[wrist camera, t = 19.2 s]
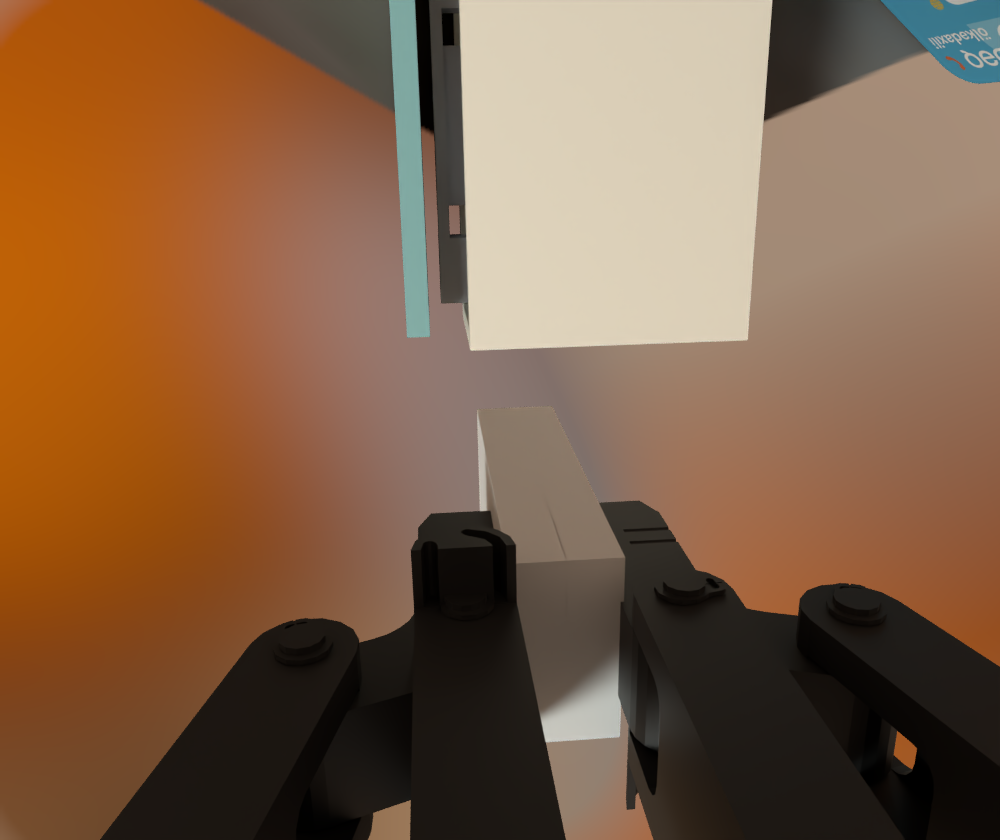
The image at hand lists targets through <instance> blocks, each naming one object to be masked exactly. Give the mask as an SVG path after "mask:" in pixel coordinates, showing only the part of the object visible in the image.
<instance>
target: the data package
mask: <svg viewBox="0 0 1000 840" xmlns="http://www.w3.org/2000/svg"><path fill="white" fill-rule="evenodd" d="M881 1H882V2H883V3H884V5H885V6H886V7H887V8H888V9H889V10H890V11H891V12H892V13H893V14H894V15H895V16H896V17H897V18H898V19H899V20H900V21H901V22H902V24H903V25H904V26H905V27H906V28H907V29H908V30H909V31H910V32H911V33H912V34H913V35H914V36H915V37H916V38H917V39H918V40H919V41H920V43H921V44H922V45H923V46H924V47H925V48H926V49H927V50H928V51H929V52H930V53H931V54H932V55H933V56H934V57H935V58H936V59H937V60H938V61H939V63H940V64H941V65H942V66H943V67H945V68H946V69H947V70H948V71H950V72H951V73H952V74H954V75H955V76H957V77H959V78H961V79H963V80H965V81H968V82H972V83H979V84H980V83H992V82H1000V0H881Z"/></svg>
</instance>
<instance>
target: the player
mask: <svg viewBox="0 0 1000 840" xmlns="http://www.w3.org/2000/svg"><path fill="white" fill-rule="evenodd" d="M771 12H772V0H459V13H453V22H454V46H460V50H461V83H462V116H463V149H464V182H465V205H459V207H460V234H466V247H467V280H468V303H463V319H464V323H465V328H466V333H467V337H468V341H469V346H470V350H499V349H524V348H525V349H526V348H551V347H576V346H577V347H578V346H603V345H604V346H605V345H631V344H658V343H685V342H709V341H710V342H711V341H738V340H748V327H749V313H750V299H751V286H752V272H753V258H754V243H755V231H756V217H757V203H758V189H759V176H760V162H761V149H762V135H763V122H764V108H765V94H766V81H767V67H768V53H769V40H770V26H771Z"/></svg>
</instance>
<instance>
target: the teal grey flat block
mask: <svg viewBox="0 0 1000 840" xmlns="http://www.w3.org/2000/svg"><path fill="white" fill-rule="evenodd" d="M389 6H390V25H391V43H392V62H393V81H394V99H395V118H396V137H397V155H398V174H399V192H400V211H401V230H402V249H403V266H404V286H405V304H406V324H407V337H430V323H429V297H428V276H427V253H426V231H425V208H424V186H423V164H422V142H421V119H420V97H419V75H418V53H417V30H416V8H415V0H389ZM429 13H430V37H431V67H432V91H433V116H434V141H435V165H436V190H437V210H438V238H439V239H438V240H439V264H440V289H441V303H468V280H467V247H466V234H456V235H455V234H452V235H450V231H449V205H465V182H464V149H463V116H462V83H461V50H460V46H443V39H442V13H459V0H429Z"/></svg>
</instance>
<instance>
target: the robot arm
mask: <svg viewBox="0 0 1000 840" xmlns="http://www.w3.org/2000/svg"><path fill="white" fill-rule="evenodd" d="M477 420H478V422H477V423H478V457H479V491H480V492H479V493H480V511H474V512H455V513H436V514H431V515H429V517H428V518H427V519H426V520H425V521H424V522H423V523H422V524H421V525H420V526H419V528H418V540H416V541H415V543H414V545H413V547H412V549H411V561H412V579H413V596H414V615H413V616H412V617H411V619H410V620H409V621H408V622H407V623H405V624H404V625H403V626H402V627H400V628H399V629H397V630H395V631H393V632H391V633H389V634H387V635H384V636H381V637H378V638H375V639H372V640H368V641H364V642H360V643H359V639H358V637H357V635H356V634H355V632H354V630H353V629H352V628H350V627H348V626H347V625H345V624H343V623H341V622H338V621H333V620H327V619H323V618H321V619H308V618H305V619H298V620H296V621H289V622H286V623H283V624H281V625H278V626H276V627H274V628H272V629H270V630H268V631H266V632H264V633H263V634H262V635H260V636H259V637H258V638H257V639H256V640H254V641H253V642H252V643H251V644H250V645H249V647H248V648H247V649H246V650H245V652H244V653H243V654H242V656H241V657H240V658H239V660H238V661H237V662H236V664H235V665H234V666H233V667H232V669H231V670H230V671H229V673H228V674H227V675H226V676H225V678H224V679H223V681H222V682H221V683H220V684H219V686H218V687H217V688H216V690H215V691H214V692H213V693H212V695H211V696H210V697H209V699H208V700H207V701H206V703H205V704H204V705H203V706H202V708H201V709H200V710H199V712H198V713H197V714H196V716H195V717H194V718H193V719H192V721H191V722H190V723H189V725H188V726H187V727H186V729H185V730H184V731H183V732H182V734H181V735H180V736H179V738H178V739H177V740H176V742H175V743H174V744H173V745H172V747H171V748H170V749H169V751H168V752H167V753H166V755H165V756H164V757H163V759H162V760H161V761H160V762H159V764H158V765H157V766H156V768H155V769H154V770H153V771H152V773H151V774H150V775H149V777H148V778H147V779H146V781H145V782H144V783H143V784H142V786H141V787H140V788H139V790H138V791H137V792H136V794H135V795H134V796H133V798H132V799H131V800H130V802H129V803H128V804H127V805H126V807H125V808H124V809H123V810H122V812H121V813H120V814H119V816H118V817H117V818H116V820H115V821H114V822H113V823H112V825H111V826H110V827H109V829H108V830H107V831H106V833H105V834H104V835H103V836H102V838H101V839H100V840H368V838H369V836H370V833H371V829H372V821H373V813H374V812H377V811H380V810H383V809H385V808H388V807H391V806H394V805H397V804H400V803H403V802H406V801H409V800H411V823H410V840H566V838H565V833H564V829H563V824H562V819H561V814H560V810H559V805H558V800H557V795H556V790H555V785H554V780H553V776H552V770H551V766H550V761H549V756H548V751H547V746H546V742H556V741H570V740H585V739H599V738H610V737H611V738H612V737H620V713H621V705H622V708H623V711H624V714H625V716H626V719H627V722H628V725H629V730H628V760H627V789H626V804H627V810H628V809H635V796H636V794H637V793H639V796H640V799H641V802H642V805H643V809H644V812H645V814H646V818H647V821H648V824H649V827H650V830H651V833H652V836H653V839H654V840H1000V667H999V666H998V665H996V664H995V663H993V662H992V661H990V660H989V659H987V658H985V657H984V656H982V655H981V654H979V653H978V652H976V651H975V650H973V649H972V648H970V647H968V646H967V645H965V644H964V643H962V642H961V641H959V640H958V639H956V638H955V637H953V636H952V635H950V634H948V633H947V632H945V631H944V630H942V629H941V628H939V627H938V626H936V625H935V624H933V623H932V622H930V621H929V620H927V619H926V618H924V617H922V616H921V615H919V614H918V613H916V612H915V611H913V610H912V609H910V608H909V607H907V606H906V605H904V604H902V603H901V602H899V601H898V600H896V599H894V598H892V597H890V596H888V595H886V594H884V593H882V592H878V591H875V590H872V589H868V588H865V587H864V586H861V585H855V584H851V585H849V584H846V583H839V584H833V585H821V586H818V587H815V588H813V589H810V590H807V591H806V592H805V593H804V595H803V596H802V597H801V598H800V603H799V612H798V616H795V615H787V614H778V613H769V612H763V611H757V610H751V609H747V608H746V607H745V606H744V604H743V603H742V602H741V600H740V599H739V597H738V596H737V594H736V593H735V591H734V590H733V589H732V588H731V587H730V586H729V585H728V584H727V583H726V582H725V581H724V580H722V579H720V578H718V577H716V576H713V575H711V574H709V573H706V572H701V571H697V570H695V568H694V567H693V565H692V564H691V562H690V560H689V559H688V557H687V556H686V554H685V553H684V551H683V549H682V548H681V546H680V545H679V543H678V542H676V538H675V537H674V535H673V534H672V532H671V531H670V530H668V526H667V524H666V523H665V521H664V519H663V518H662V516H661V515H660V513H659V512H657V511H655V510H654V509H652V508H650V507H649V506H647V505H646V504H644V503H642V502H640V501H625V502H605V503H599V502H598V500H597V498H596V496H595V494H594V492H593V490H592V488H591V486H590V484H589V482H588V480H587V478H586V475H585V473H584V471H583V469H582V467H581V465H580V463H579V461H578V459H577V457H576V455H575V453H574V451H573V449H572V447H571V445H570V442H569V440H568V439H567V436H566V434H565V432H564V430H563V428H562V426H561V424H560V422H559V420H558V418H557V416H556V414H555V411H554V409H553V407H552V406H542V407H519V408H495V409H477ZM897 731H898V732H900V733H901V734H902V735H903V736H904V737H905V738H907V739H908V740H909V741H910V742H911V743H913V745H914V746H915V747H916V748H917V753H916V759H915V764H914V767H913V769H910V768H909V767H907V766H906V765H904V764H903V763H902V762H901V761H900V760H898V759H897V758H896V757H895V756H894V748H895V741H896V735H897Z"/></svg>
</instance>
